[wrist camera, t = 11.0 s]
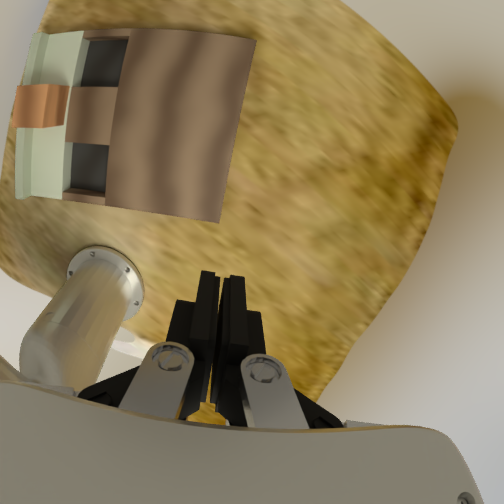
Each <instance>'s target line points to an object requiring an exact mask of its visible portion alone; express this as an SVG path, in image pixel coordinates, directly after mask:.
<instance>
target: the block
mask: <svg viewBox="0 0 504 504" xmlns="http://www.w3.org/2000/svg"><path fill="white" fill-rule="evenodd" d="M69 88H70V86H65V85H55V84H37V85H21V86H17V91H16V97H15V104H14V111H13V120H12V128H48V127H54V126H62V125H64V119H65V112H66V106H67V100H68V94H69Z"/></svg>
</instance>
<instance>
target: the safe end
mask: <svg viewBox="0 0 504 504" xmlns="http://www.w3.org/2000/svg"><path fill="white" fill-rule="evenodd" d="M83 33H84V31H75V32H66V33H58V34H51V35H49V34H46V33H43V32H40V33H34V34H33V37H32V41H31V45H30V49H29V53H28V58H27V62H26V67H25V72H24V78H23V84H22V85H37V84H55V85H65V86H70V88H69V94H68V100H67V106H66V112H65V119H64V125H62V126H54V127H48V128H17V135H16V153H15V198H16V199H22V200H24V199H25V198H27V197H29V196H39V197H46V198H54V199H62V192H63V191H65V190H67V189H69V188H70V180H71V161H72V147H73V143H72V142H65V133H66V124H67V115H68V108H69V101H70V94H71V89H72V87H80V86H81V80H82V75H83V70H84V65H85V60H86V56H87V52H88V47H89V43H90V41H89V40H86V39H84V38H82V37H83Z"/></svg>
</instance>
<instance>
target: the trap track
mask: <svg viewBox="0 0 504 504" xmlns="http://www.w3.org/2000/svg"><path fill="white" fill-rule="evenodd" d="M82 38H84V39H86V40H89V41H90V43H89V47H88V52H87V56H86V60H85V65H84V70H83V75H82V80H81V86H80V87H72V89H71V94H70V101H69V108H68V115H67V124H66V133H65V142H72V143H73V147H72V161H71V180H70V188H69V189H67V190H65V191H63V192H62V200H69V201H76V202H83V203H91V204H98V205H105V206H111V207H118V208H125V209H132V210H138V211H145V212H151V213H158V214H164V215H171V216H177V217H183V218H190V219H196V220H202V221H208V222H214V223H219V221H220V216H221V210H222V204H223V199H224V193H225V188H226V183H227V177H228V172H229V167H230V162H231V157H232V152H233V147H234V142H235V137H236V132H237V127H238V122H239V117H240V113H241V108H242V103H243V99H244V94H245V89H246V85H247V80H248V76H249V71H250V67H251V63H252V58H253V54H254V50H255V46H256V41H257V40H253V39H247V38H242V37H235V36H229V35H222V34H215V33H206V32H197V31H186V30H172V29H148V28H122V29H98V30H85V31H84V33H83V37H82Z"/></svg>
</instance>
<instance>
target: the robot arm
mask: <svg viewBox="0 0 504 504" xmlns="http://www.w3.org/2000/svg"><path fill="white" fill-rule="evenodd" d="M219 287H220V277H218V276H215V272H209V271H203V270H202V271H201V276H200V281H199V287H198V292H197V297H196V303H195V302H189V301H183V300H177V301H176V304H175V307H174V311H173V315H172V319H171V322H170V326H169V330H168V334H167V338H166V342H161V343H157V344H155V345H154V346H152V347H151V348H150V349H149V350H148V352H147V354H146V356H145V358H144V359H143V361H142V363H141V365H140V366H137V367H135V368H133V369H131V370H128V371H126V372H123V373H121V374H118V375H116V376H113V377H111V378H108V379H106V380H103V381H101V382H98V383H96V381H97V378H98V376H99V374H100V371H101V369H102V367H103V364H104V362H105V359H106V357H107V355H108V352H109V350H110V348H111V345H112V343H113V341H114V339H115V336H116V334H117V332H118V330H119V327H120V325H121V323H122V322H123V321H126V320H128V319H130V318H132V317H133V316H134V315H135V314H136V313H137V312H138V311H139V309H140V307H141V305H142V302H143V298H144V286H143V281H142V279H141V276H140V274H139V272H138V270H137V269H136V267H135V266H134V265H133V264H132V262H131V261H129V260H128V259H127V258H126V257H125V256H124V255H122V254H121V253H119V252H117V251H115V250H113V249H111V248H107V247H103V246H93V247H88V248H85V249H83V250H81V251H80V252H78V253H77V254H76V255H75V256H74V257H73V259H72V260H71V262H70V263H69V266H68V269H67V282H66V283H65V284H64V285H63V286H62V288H61V289H60V290H59V291H58V293H57V294H56V295H55V296H54V297H53V299H52V300H51V301H50V303H49V304H48V305H47V306H46V308H45V309H44V310H43V311H42V313H41V314H40V315H39V317H38V318H37V319H36V321H35V322H34V324H33V325H32V326H31V327H30V328H29V330H28V331H27V333H26V334H25V336H24V338H23V341H22V343H21V348H20V354H19V356H20V357H19V366H20V372H19V371H17V370H16V369H15V368H13V366H11V365H10V364H9V363H8V362H7V361H6V360H5V359H4V358H3V357H2V356H1V355H0V504H484V502H483V500H482V497H481V495H480V492H479V490H478V487H477V485H476V483H475V481H474V478H473V476H472V474H471V472H470V470H469V468H468V466H467V464H466V462H465V460H464V458H463V456H462V455H461V453H460V451H459V450H458V448H457V447H456V445H455V444H454V443H453V442H452V440H451V439H450V438H449V437H448V436H447V435H445V434H443V433H442V432H439V431H437V430H434V429H430V428H425V427H421V426H411V425H381V424H372V423H364V422H356V421H349V420H346V422H345V423H342V422H341V421H340V420H339V419H338V418H337V417H336V416H334V415H333V414H331V413H329V412H328V411H327V410H325V409H324V408H322V407H321V406H319V405H318V404H316V403H315V402H313V401H312V400H310V399H309V398H307V397H306V396H304V395H303V394H302V393H300V392H299V391H297V390H296V389H294V388H293V386H292V383H291V381H290V378H289V376H288V373H287V371H286V368H285V367H284V365H283V364H282V363H281V362H280V361H279V360H278V359H276V358H274V357H272V356H269V355H266V348H265V341H264V333H263V326H262V318H261V313H260V312H258V311H250V310H247V307H246V292H245V278H244V277H242V276H235V275H230V278H224V282H223V288H222V293H221V299H220V304H219V310H218V302H219ZM211 367H212V375H211V393H210V403H214V404H216V407H215V412H219V413H220V414H221V415H222V416H223V417H224V418H225V419H226V425H216V424H207V423H199V422H191V421H188V416H189V415H191V414H192V413H194V412H196V411H198V410H199V407H200V402H206V396H207V390H208V384H209V378H210V373H211Z"/></svg>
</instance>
